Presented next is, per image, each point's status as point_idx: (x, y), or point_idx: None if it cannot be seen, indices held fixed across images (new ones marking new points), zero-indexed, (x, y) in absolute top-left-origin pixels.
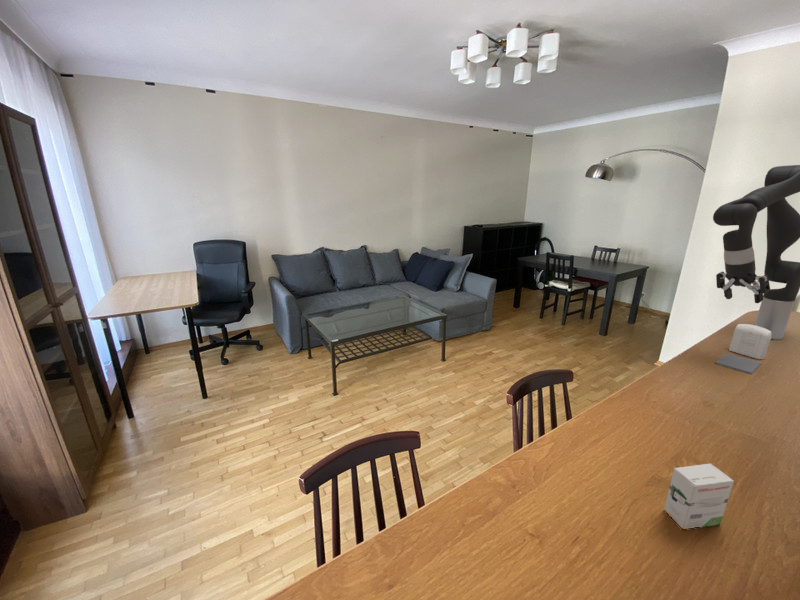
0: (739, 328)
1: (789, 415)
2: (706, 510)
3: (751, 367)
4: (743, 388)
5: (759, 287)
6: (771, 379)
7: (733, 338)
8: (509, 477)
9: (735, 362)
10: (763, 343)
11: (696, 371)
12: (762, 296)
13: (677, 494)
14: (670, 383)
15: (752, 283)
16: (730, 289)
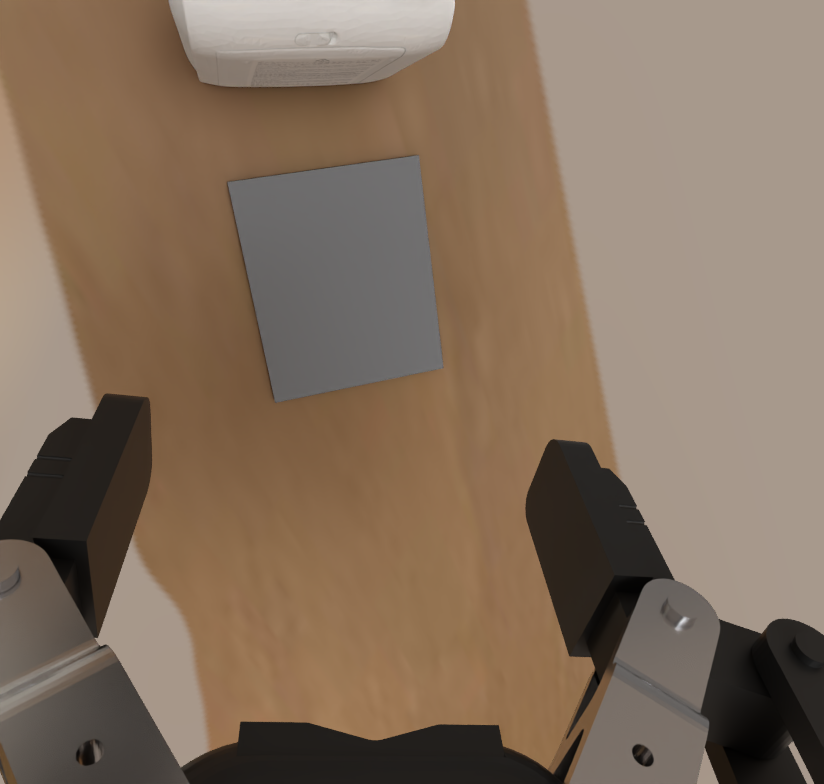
0: (224, 51)
1: None
2: None
3: (415, 293)
4: (478, 548)
5: (689, 703)
6: (514, 338)
7: (202, 68)
8: None
9: (336, 298)
10: (410, 62)
11: (283, 579)
12: (644, 542)
13: None
14: None
15: (583, 764)
16: (94, 564)
